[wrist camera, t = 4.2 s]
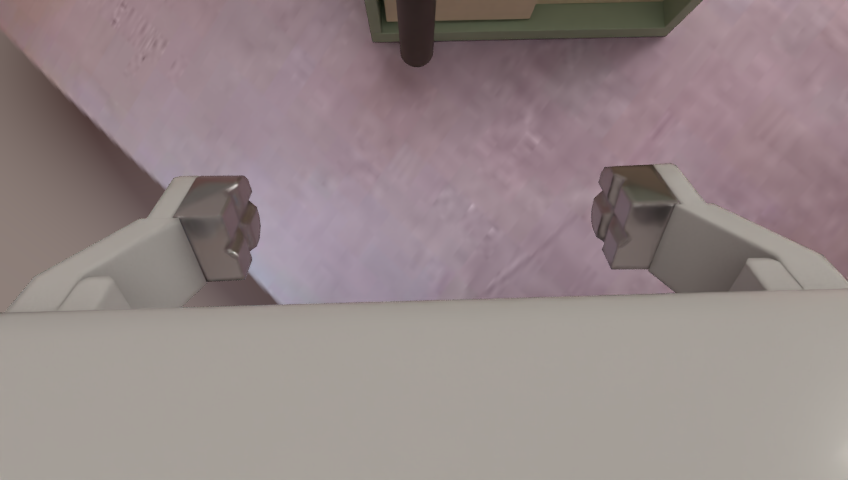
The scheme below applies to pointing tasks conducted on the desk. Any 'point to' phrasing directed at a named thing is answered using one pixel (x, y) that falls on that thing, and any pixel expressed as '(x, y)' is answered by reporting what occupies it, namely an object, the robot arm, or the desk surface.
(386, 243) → the desk surface
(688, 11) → the cabinet
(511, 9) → the door
